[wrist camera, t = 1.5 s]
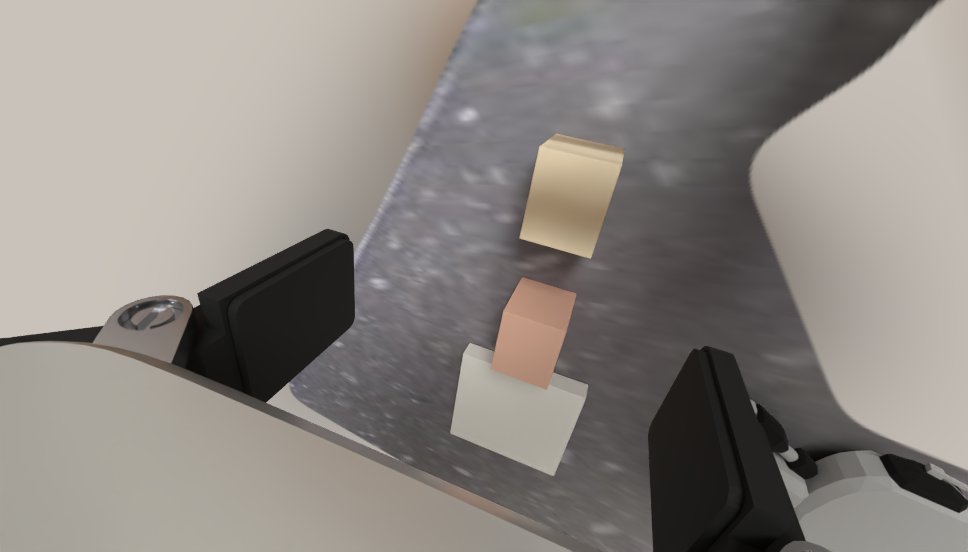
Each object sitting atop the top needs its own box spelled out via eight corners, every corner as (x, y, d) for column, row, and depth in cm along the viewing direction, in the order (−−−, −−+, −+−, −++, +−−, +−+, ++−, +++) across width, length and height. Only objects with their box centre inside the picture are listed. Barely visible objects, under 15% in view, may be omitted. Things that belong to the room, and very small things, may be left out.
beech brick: (556, 133, 23) (539, 146, 19) (624, 148, 22) (621, 165, 18) (537, 212, 25) (519, 238, 21) (598, 228, 25) (590, 258, 21)
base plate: (470, 342, 32) (463, 353, 31) (588, 384, 30) (586, 398, 29) (456, 421, 37) (450, 433, 36) (556, 462, 35) (553, 476, 34)
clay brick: (522, 276, 28) (503, 310, 24) (576, 293, 27) (566, 331, 23) (509, 330, 30) (490, 369, 26) (558, 347, 30) (547, 389, 26)
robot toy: (652, 462, 33) (851, 559, 29) (650, 511, 29) (878, 629, 25) (728, 358, 26) (995, 465, 23) (737, 404, 23) (1058, 540, 19)
